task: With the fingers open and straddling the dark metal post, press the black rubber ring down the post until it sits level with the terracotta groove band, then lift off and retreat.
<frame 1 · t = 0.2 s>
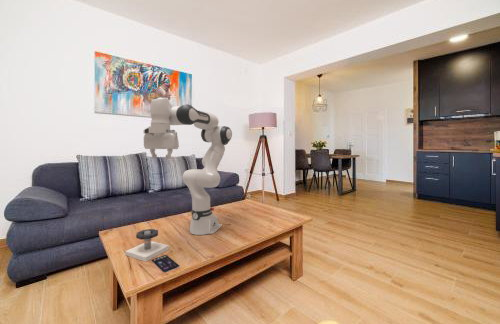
hand: (161, 158, 109), 47 cm above the table, fingers open, 8 cm apart
pipe stand: (147, 252, 111), on the table
ring: (147, 234, 110), point 9 cm above the table, slide at 0.0 cm
smartphone: (165, 264, 100), on the table
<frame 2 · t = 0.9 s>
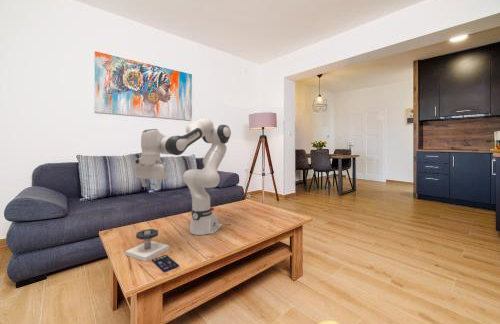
hand: (151, 187, 114), 32 cm above the table, fingers open, 8 cm apart
nothing on the table moved.
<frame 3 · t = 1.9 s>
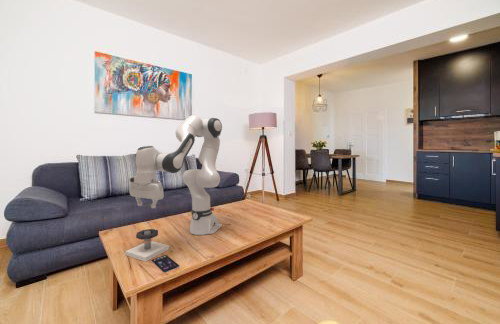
hand: (146, 206, 109), 23 cm above the table, fingers open, 8 cm apart
nothing on the table moved.
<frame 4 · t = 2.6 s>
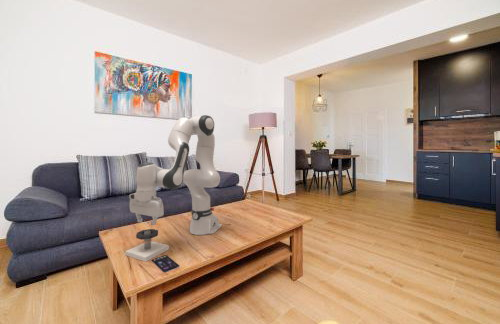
hand: (146, 223, 109), 15 cm above the table, fingers open, 8 cm apart
nothing on the table moved.
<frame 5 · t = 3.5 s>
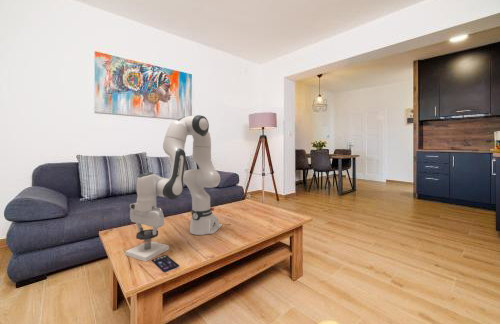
hand: (147, 232, 110), 10 cm above the table
ring: (147, 234, 110), point 9 cm above the table, slide at 0.2 cm, touching gripper
everything else where it was.
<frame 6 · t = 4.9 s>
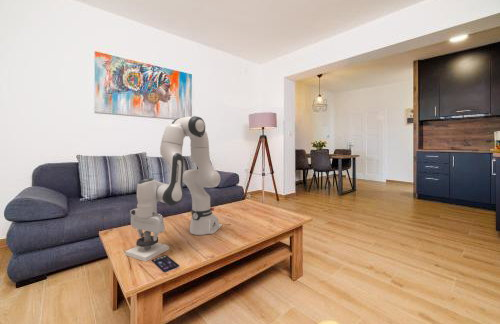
hand: (147, 238, 110), 7 cm above the table, fingers open, 8 cm apart
ring: (147, 241, 110), point 6 cm above the table, slide at 3.6 cm
everything else where it was.
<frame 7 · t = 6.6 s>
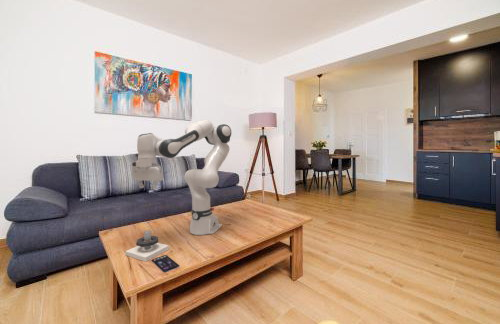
hand: (147, 188, 120), 30 cm above the table, fingers open, 8 cm apart
nothing on the table moved.
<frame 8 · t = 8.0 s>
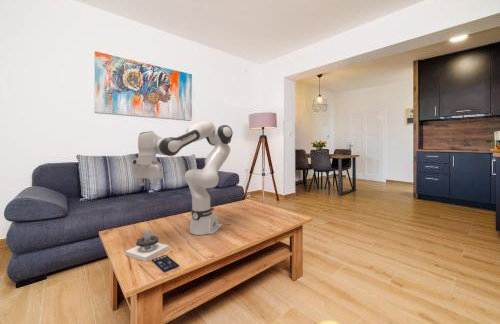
hand: (147, 186, 121), 31 cm above the table, fingers open, 8 cm apart
nothing on the table moved.
at the end: ring slide at 3.6 cm; the gripper is holding nothing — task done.
